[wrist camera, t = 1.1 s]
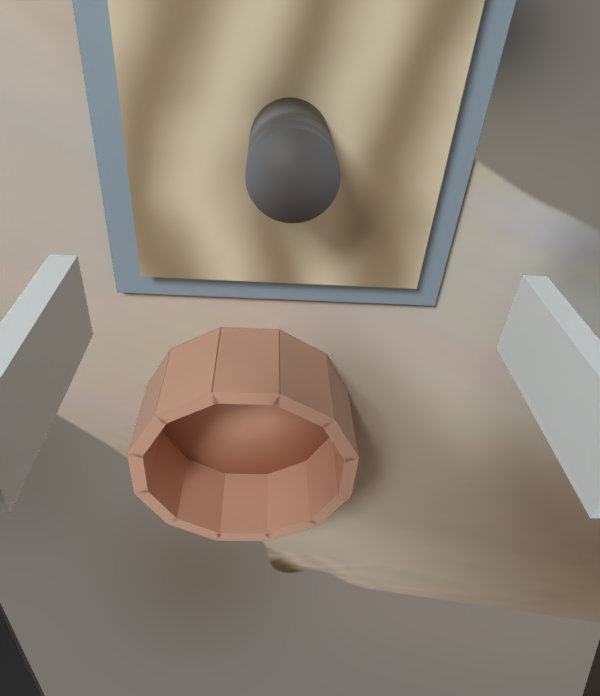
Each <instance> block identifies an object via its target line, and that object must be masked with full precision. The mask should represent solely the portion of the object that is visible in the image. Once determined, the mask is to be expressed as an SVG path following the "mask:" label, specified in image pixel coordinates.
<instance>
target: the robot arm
mask: <svg viewBox="0 0 600 696" xmlns="http://www.w3.org/2000/svg"><path fill="white" fill-rule="evenodd" d="M92 336H93V332H92V327H91V322H90V317H89V312H88V307H87V302H86V297H85V292H84V287H83V282H82V277H81V272H80V266H79V261H78V256H73V255H49V256H48V257H47V259H46V260H45V262H44V263H43V264H42V266H41V267H40V268H39V270H38V271H37V273H36V274H35V275H34V277H33V278H32V280H31V281H30V282H29V284H28V285H27V286H26V288H25V289H24V291H23V292H22V293H21V295H20V296H19V298H18V299H17V300H16V302H15V303H14V304H13V306H12V307H11V309H10V310H9V311H8V313H7V314H6V316H5V317H4V318H3V320H2V321H1V322H0V513H10V512H11V511H12V508H13V506H14V504H15V502H16V500H17V498H18V495H19V493H20V491H21V489H22V487H23V485H24V482H25V480H26V478H27V476H28V474H29V472H30V470H31V467H32V465H33V463H34V461H35V459H36V456H37V454H38V452H39V450H40V448H41V446H42V443H43V441H44V439H45V437H46V435H47V433H48V431H49V428H50V426H51V424H52V422H53V420H54V417H55V415H56V413H57V411H58V409H59V407H60V405H61V403H62V400H63V398H64V396H65V394H66V392H67V390H68V387H69V385H70V383H71V381H72V379H73V377H74V374H75V372H76V370H77V368H78V366H79V364H80V361H81V359H82V357H83V355H84V353H85V351H86V348H87V346H88V344H89V342H90V340H91V338H92ZM496 348H497V350H498V352H499V354H500V356H501V357H502V359H503V361H504V363H505V365H506V367H507V368H508V370H509V372H510V374H511V376H512V377H513V379H514V381H515V383H516V385H517V386H518V388H519V390H520V392H521V394H522V396H523V397H524V399H525V401H526V403H527V405H528V406H529V408H530V410H531V412H532V414H533V415H534V417H535V419H536V421H537V423H538V425H539V426H540V428H541V430H542V432H543V434H544V435H545V437H546V439H547V441H548V443H549V444H550V446H551V448H552V450H553V452H554V454H555V455H556V457H557V459H558V461H559V463H560V464H561V466H562V468H563V470H564V472H565V473H566V475H567V477H568V479H569V481H570V483H571V484H572V486H573V488H574V490H575V492H576V493H577V495H578V497H579V499H580V501H581V502H582V504H583V506H584V508H585V510H586V512H587V513H588V515H589V517H590V518H600V340H599V339H598V338H597V336H596V335H595V334H594V333H593V332H592V330H591V329H590V328H589V327H588V326H587V324H586V323H585V322H584V321H583V319H582V318H581V317H580V316H579V315H578V313H577V312H576V311H575V310H574V309H573V307H572V306H571V305H570V304H569V302H568V301H567V300H566V299H565V298H564V296H563V295H562V294H561V293H560V292H559V290H558V289H557V288H556V287H555V285H554V284H553V283H552V282H551V281H550V279H549V278H548V277H547V276H526V275H523V276H522V279H521V282H520V284H519V287H518V290H517V293H516V295H515V298H514V301H513V303H512V306H511V309H510V312H509V314H508V317H507V320H506V323H505V325H504V328H503V331H502V334H501V336H500V339H499V342H498V345H497V347H496ZM0 696H45V695H44V693H43V692H42V689H41V687H40V685H39V683H38V681H37V679H36V677H35V675H34V672H33V670H32V669H31V666H30V664H29V662H28V660H27V658H26V656H25V654H24V652H23V650H22V648H21V645H20V643H19V641H18V639H17V637H16V635H15V633H14V631H13V629H12V627H11V625H10V623H9V621H8V618H7V616H6V614H5V612H4V610H3V608H2V606H1V604H0ZM583 696H600V641H599V644H598V647H597V651H596V654H595V657H594V661H593V663H592V667H591V670H590V673H589V676H588V680H587V683H586V686H585V689H584V693H583Z"/></svg>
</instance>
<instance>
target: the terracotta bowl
mask: <svg viewBox="0 0 600 696" xmlns="http://www.w3.org/2000/svg"><path fill="white" fill-rule="evenodd" d="M127 455H128V461H129V466H130V472H131V478H132V483H133V489H134V493H135V495H137V496H138V497H139V498H140V499H141V500H142V501H143V502H144V503H145V504H146V505H148V506H149V507H150V508H151V509H152V510H153V511H154V512H155V513H156V514H157V515H158V516H160V517H161V518H162V519H163V520H164V521H165V522H166V523H167V524H169V525H172V526H175V527H178V528H181V529H184V530H187V531H190V532H193V533H196V534H199V535H201V536H204V537H207V538H210V539H214V540H218V541H272V540H275V539H278V538H281V537H285V536H288V535H291V534H294V533H297V532H300V531H303V530H306V529H309V528H313V527H316V526H318V525H320V524H321V523H322V522H323V521H324V520H325V519H326V518H327V517H329V516H330V515H331V514H332V513H333V512H334V511H335V510H337V509H338V508H339V507H340V506H341V505H342V504H343V503H344V502H346V501H347V500H348V499H349V498H350V497H351V495H352V490H353V485H354V481H355V476H356V471H357V466H358V461H359V455H358V449H357V443H356V437H355V431H354V425H353V419H352V413H351V407H350V401H349V395H348V391H347V389H346V387H345V385H344V384H343V382H342V380H341V379H340V377H339V375H338V373H337V372H336V370H335V368H334V366H333V365H332V363H331V361H330V360H329V358H328V356H327V355H326V354H325V353H323V352H321V351H319V350H317V349H315V348H313V347H311V346H309V345H307V344H306V343H304V342H302V341H300V340H298V339H296V338H294V337H292V336H290V335H288V334H287V333H285V332H283V331H281V330H280V331H279V330H273V329H246V328H218V329H216V330H214V331H212V332H209V333H207V334H205V335H202V336H200V337H198V338H195V339H193V340H191V341H189V342H186V343H184V344H182V345H179V346H177V347H175V348H173V349H171V350H170V351H169V353H168V354H167V356H166V357H165V359H164V360H163V362H162V363H161V365H160V366H159V368H158V370H157V371H156V373H155V374H154V376H153V377H152V379H151V380H150V382H149V383H148V385H147V387H146V390H145V394H144V397H143V401H142V404H141V408H140V411H139V415H138V418H137V422H136V425H135V429H134V432H133V436H132V439H131V443H130V446H129V450H128V453H127Z"/></svg>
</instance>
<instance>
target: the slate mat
mask: <svg viewBox="0 0 600 696" xmlns="http://www.w3.org/2000/svg"><path fill="white" fill-rule="evenodd" d="M72 1H73V8H74V15H75V21H76V28H77V34H78V41H79V47H80V54H81V60H82V67H83V73H84V80H85V86H86V93H87V99H88V106H89V112H90V119H91V126H92V132H93V139H94V145H95V152H96V158H97V165H98V171H99V178H100V184H101V191H102V197H103V204H104V210H105V217H106V223H107V230H108V237H109V243H110V250H111V256H112V263H113V269H114V276H115V282H116V289H117V292H120V293H144V294H167V295H191V296H215V297H239V298H263V299H287V300H311V301H334V302H358V303H382V304H406V305H430V306H435V304H436V300H437V296H438V292H439V289H440V285H441V281H442V277H443V274H444V270H445V266H446V262H447V259H448V255H449V251H450V247H451V244H452V240H453V236H454V232H455V229H456V225H457V221H458V217H459V214H460V210H461V206H462V202H463V199H464V195H465V191H466V187H467V183H468V180H469V176H470V172H471V168H472V165H473V161H474V157H475V153H476V149H477V146H478V142H479V138H480V135H481V131H482V127H483V123H484V119H485V116H486V112H487V108H488V104H489V101H490V97H491V93H492V90H493V86H494V82H495V78H496V74H497V71H498V67H499V63H500V59H501V55H502V52H503V48H504V44H505V41H506V37H507V33H508V29H509V26H510V21H511V18H512V14H513V11H514V7H515V3H516V0H485V2H484V6H483V10H482V15H481V19H480V23H479V27H478V32H477V36H476V40H475V44H474V48H473V53H472V57H471V61H470V65H469V70H468V74H467V78H466V82H465V87H464V91H463V95H462V99H461V103H460V108H459V112H458V116H457V120H456V125H455V129H454V133H453V137H452V141H451V146H450V150H449V154H448V158H447V163H446V167H445V171H444V175H443V180H442V184H441V188H440V192H439V196H438V201H437V205H436V209H435V213H434V218H433V222H432V226H431V230H430V235H429V239H428V243H427V247H426V251H425V256H424V260H423V264H422V268H421V273H420V277H419V281H418V285H417V289H410V288H387V287H365V286H342V285H320V284H297V283H274V282H252V281H229V280H207V279H184V278H161V277H141V276H140V268H139V259H138V251H137V243H136V235H135V226H134V218H133V210H132V201H131V193H130V185H129V176H128V168H127V160H126V151H125V143H124V135H123V126H122V118H121V110H120V101H119V93H118V85H117V76H116V68H115V60H114V51H113V43H112V35H111V26H110V18H109V10H108V1H107V0H72Z"/></svg>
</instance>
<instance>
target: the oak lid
mask: <svg viewBox="0 0 600 696" xmlns="http://www.w3.org/2000/svg"><path fill="white" fill-rule="evenodd" d="M107 1H108V10H109V18H110V26H111V35H112V43H113V51H114V60H115V68H116V76H117V85H118V93H119V101H120V110H121V118H122V126H123V135H124V143H125V151H126V160H127V168H128V176H129V185H130V193H131V201H132V210H133V218H134V226H135V235H136V243H137V251H138V259H139V268H140V276H141V277H161V278H184V279H207V280H229V281H252V282H274V283H297V284H320V285H342V286H365V287H387V288H410V289H417V285H418V281H419V277H420V273H421V268H422V264H423V260H424V256H425V251H426V247H427V243H428V239H429V235H430V230H431V226H432V222H433V218H434V213H435V209H436V205H437V201H438V196H439V192H440V188H441V184H442V180H443V175H444V171H445V167H446V163H447V158H448V154H449V150H450V146H451V141H452V137H453V133H454V129H455V125H456V120H457V116H458V112H459V108H460V103H461V99H462V95H463V91H464V87H465V82H466V78H467V74H468V70H469V65H470V61H471V57H472V53H473V48H474V44H475V40H476V36H477V32H478V27H479V23H480V19H481V15H482V10H483V6H484V2H485V0H107Z"/></svg>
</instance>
